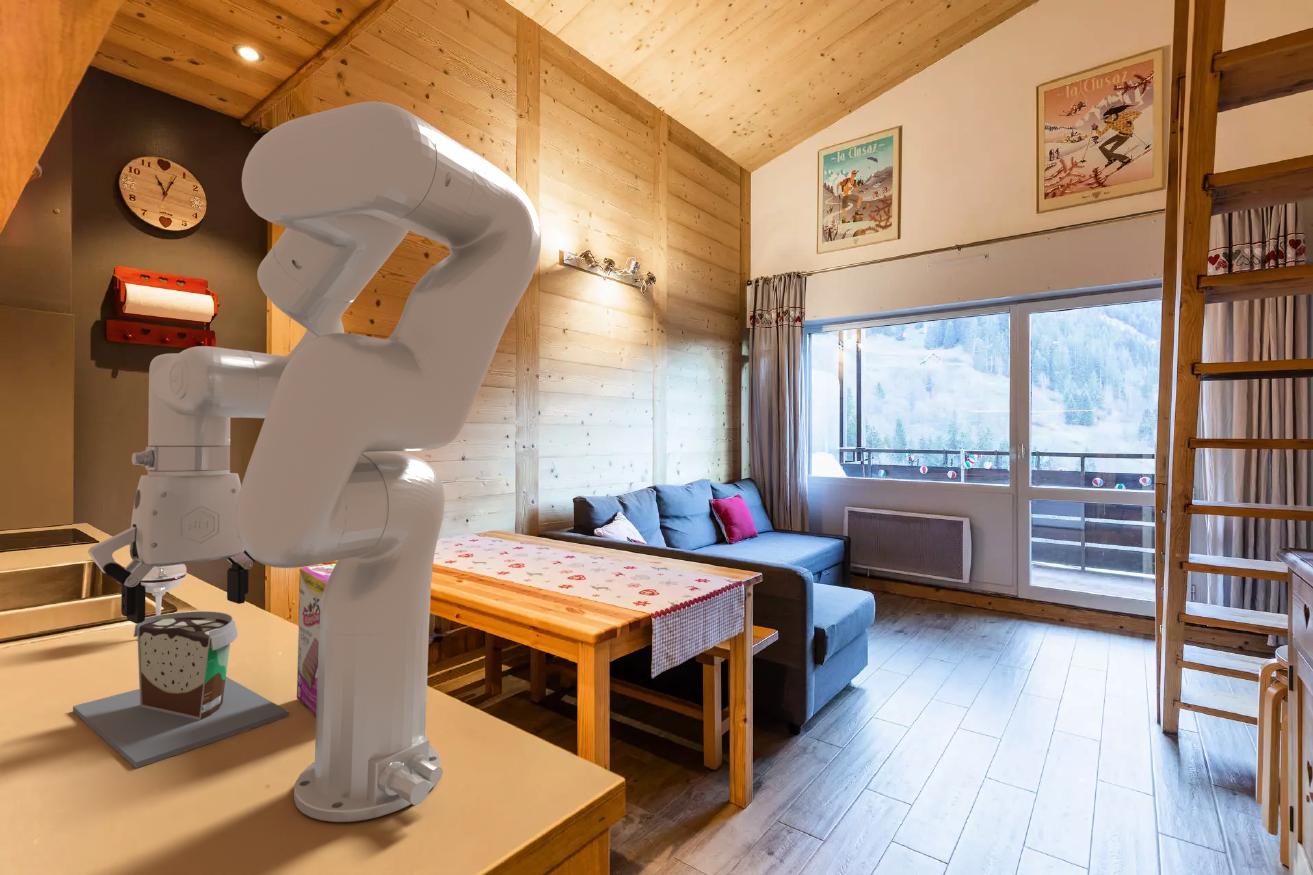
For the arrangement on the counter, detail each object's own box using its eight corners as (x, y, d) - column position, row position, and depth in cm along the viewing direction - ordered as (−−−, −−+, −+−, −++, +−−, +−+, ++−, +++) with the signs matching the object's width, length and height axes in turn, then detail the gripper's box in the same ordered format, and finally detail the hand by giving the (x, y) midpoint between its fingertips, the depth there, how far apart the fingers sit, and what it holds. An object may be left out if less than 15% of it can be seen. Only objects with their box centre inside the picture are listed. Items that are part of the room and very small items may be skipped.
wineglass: (161, 627, 100) (163, 554, 99) (195, 631, 98) (198, 557, 98) (116, 640, 93) (119, 562, 93) (153, 645, 92) (155, 565, 91)
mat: (287, 716, 71) (288, 710, 71) (135, 768, 59) (136, 762, 59) (213, 674, 82) (213, 669, 82) (72, 711, 70) (73, 705, 70)
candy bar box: (293, 700, 75) (297, 567, 75) (336, 688, 79) (340, 561, 79) (325, 732, 68) (330, 584, 67) (372, 718, 71) (377, 577, 71)
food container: (260, 699, 74) (263, 616, 73) (210, 722, 68) (213, 632, 68) (185, 684, 77) (187, 605, 77) (131, 704, 71) (133, 618, 71)
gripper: (103, 464, 61) (101, 636, 61) (285, 461, 76) (284, 599, 75) (79, 463, 65) (77, 624, 65) (257, 460, 80) (255, 591, 80)
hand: (188, 610), depth 70 cm, fingers open, 9 cm apart
